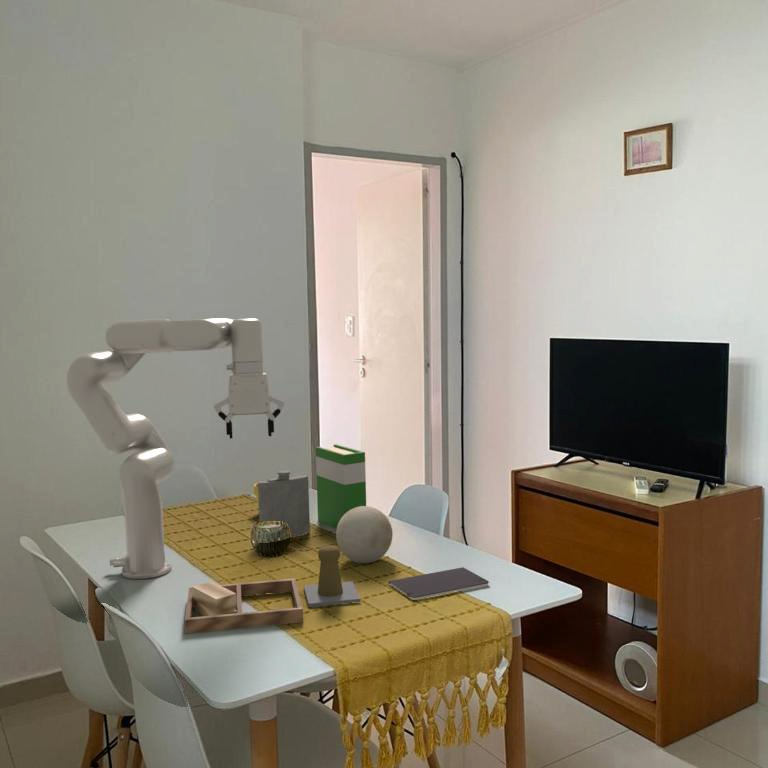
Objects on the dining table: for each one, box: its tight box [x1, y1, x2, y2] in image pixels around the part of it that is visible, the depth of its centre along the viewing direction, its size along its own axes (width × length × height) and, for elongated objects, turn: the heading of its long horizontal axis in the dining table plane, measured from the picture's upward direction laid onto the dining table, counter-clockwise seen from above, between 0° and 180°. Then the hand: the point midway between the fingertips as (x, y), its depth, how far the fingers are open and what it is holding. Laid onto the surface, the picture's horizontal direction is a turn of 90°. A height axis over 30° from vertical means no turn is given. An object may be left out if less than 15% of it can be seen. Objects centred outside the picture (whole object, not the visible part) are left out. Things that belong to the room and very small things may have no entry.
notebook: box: [388, 566, 490, 600], centre depth 197 cm, size 13×2×21 cm
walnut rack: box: [184, 578, 304, 634], centre depth 184 cm, size 25×20×3 cm
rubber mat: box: [303, 581, 362, 608], centre depth 192 cm, size 12×12×1 cm
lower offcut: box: [193, 600, 237, 617], centre depth 182 cm, size 6×14×3 cm, turn 28°
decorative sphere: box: [335, 505, 394, 564], centre depth 216 cm, size 15×15×15 cm
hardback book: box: [315, 443, 367, 531], centre depth 251 cm, size 18×7×24 cm, turn 33°
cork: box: [317, 545, 343, 597], centre depth 191 cm, size 6×6×11 cm
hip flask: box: [257, 469, 311, 538], centre depth 240 cm, size 16×4×20 cm, turn 121°
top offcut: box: [192, 581, 237, 613], centre depth 182 cm, size 5×11×3 cm, turn 41°
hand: (250, 436), depth 202 cm, fingers open, 9 cm apart
